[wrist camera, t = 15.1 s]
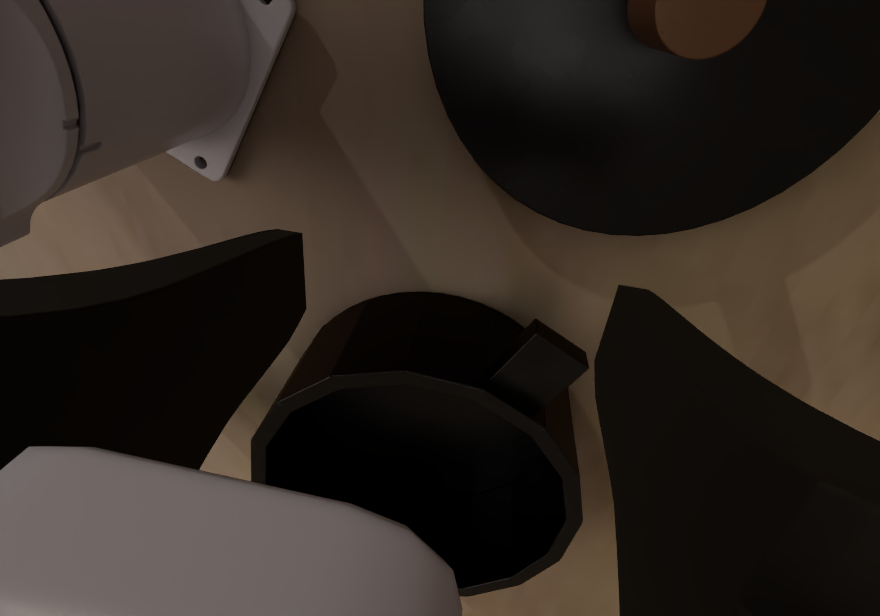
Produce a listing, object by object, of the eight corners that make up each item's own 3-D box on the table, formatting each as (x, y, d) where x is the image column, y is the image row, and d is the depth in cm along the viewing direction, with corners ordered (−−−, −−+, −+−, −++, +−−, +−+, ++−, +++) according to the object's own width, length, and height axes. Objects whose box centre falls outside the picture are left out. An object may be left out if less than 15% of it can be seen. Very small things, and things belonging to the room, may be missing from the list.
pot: (244, 442, 30) (189, 531, 25) (417, 184, 20) (384, 243, 15) (439, 545, 33) (425, 644, 28) (673, 363, 23) (717, 464, 18)
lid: (362, 111, 19) (321, 139, 15) (605, -540, 11) (654, -848, 7) (693, 286, 21) (734, 352, 17) (1101, -158, 13) (1360, -231, 9)
